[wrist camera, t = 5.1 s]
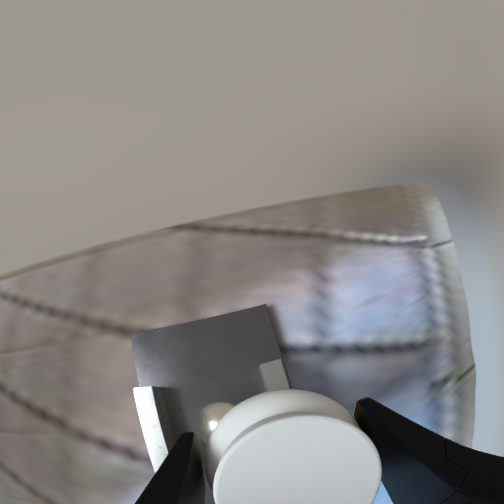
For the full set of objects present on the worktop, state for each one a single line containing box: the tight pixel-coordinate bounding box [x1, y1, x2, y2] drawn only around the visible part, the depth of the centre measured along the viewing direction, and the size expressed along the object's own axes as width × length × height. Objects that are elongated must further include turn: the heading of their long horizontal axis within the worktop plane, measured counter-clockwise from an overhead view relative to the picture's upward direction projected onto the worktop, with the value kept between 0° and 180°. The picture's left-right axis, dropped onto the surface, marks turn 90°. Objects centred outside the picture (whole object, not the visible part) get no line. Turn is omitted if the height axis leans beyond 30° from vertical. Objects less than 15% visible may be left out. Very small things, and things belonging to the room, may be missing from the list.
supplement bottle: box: [204, 389, 382, 504], centre depth 8 cm, size 5×5×10 cm
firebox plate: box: [131, 304, 292, 504], centre depth 17 cm, size 18×12×3 cm, turn 15°
